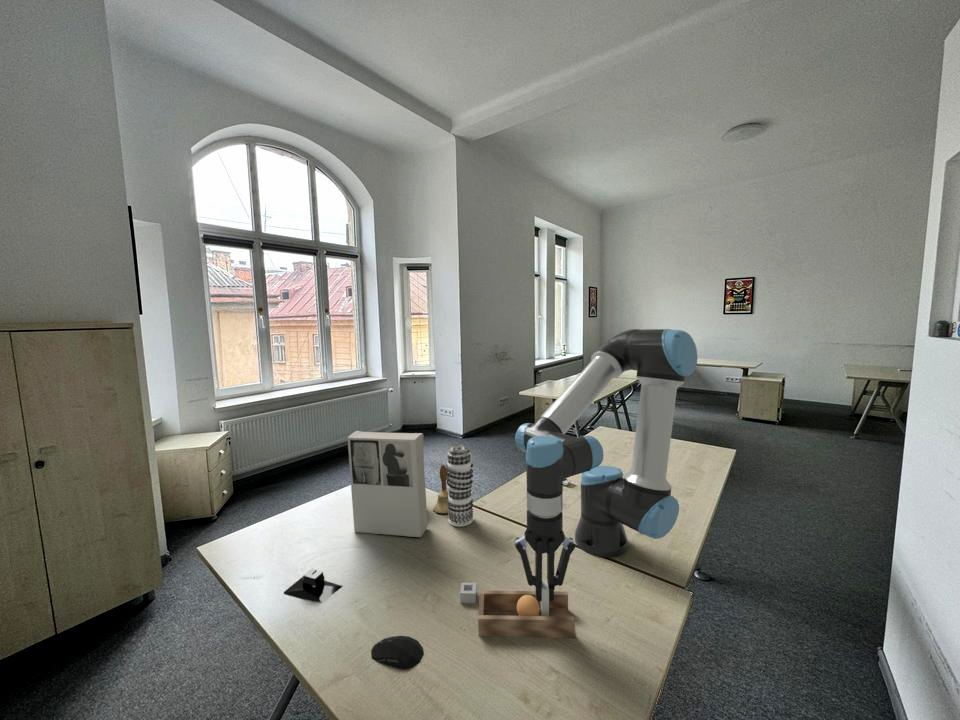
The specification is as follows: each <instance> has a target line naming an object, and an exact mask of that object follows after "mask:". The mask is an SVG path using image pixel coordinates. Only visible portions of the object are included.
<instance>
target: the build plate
mask: <svg viewBox="0 0 960 720" xmlns="http://www.w3.org/2000/svg"><path fill="white" fill-rule="evenodd" d="M342 588H343V585H341V584H337V583H335V582H331V581H327V580H325V575H324V571H322V570H317V569H315V568H311V569H310V570H308V571H307V572H306V573H304V574H303V576H302V577H300V578H299V579H298V580H297V581H295V582H294V583H293V584H292V585H290V586H289V587H288V588H287V589H286V590H284V591H283V594H284V595H287V596H290V597H294V598H296V599H297V598H298V599H301V600H304V601H310V602H314V603H315V602H316V603H320V604H322V603H324V602H325V601H326V600H328V599H329V598H330V597H331V596H333V595H334V594H336V593H337V592H338V591H339V590H340V589H342Z"/></svg>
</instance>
